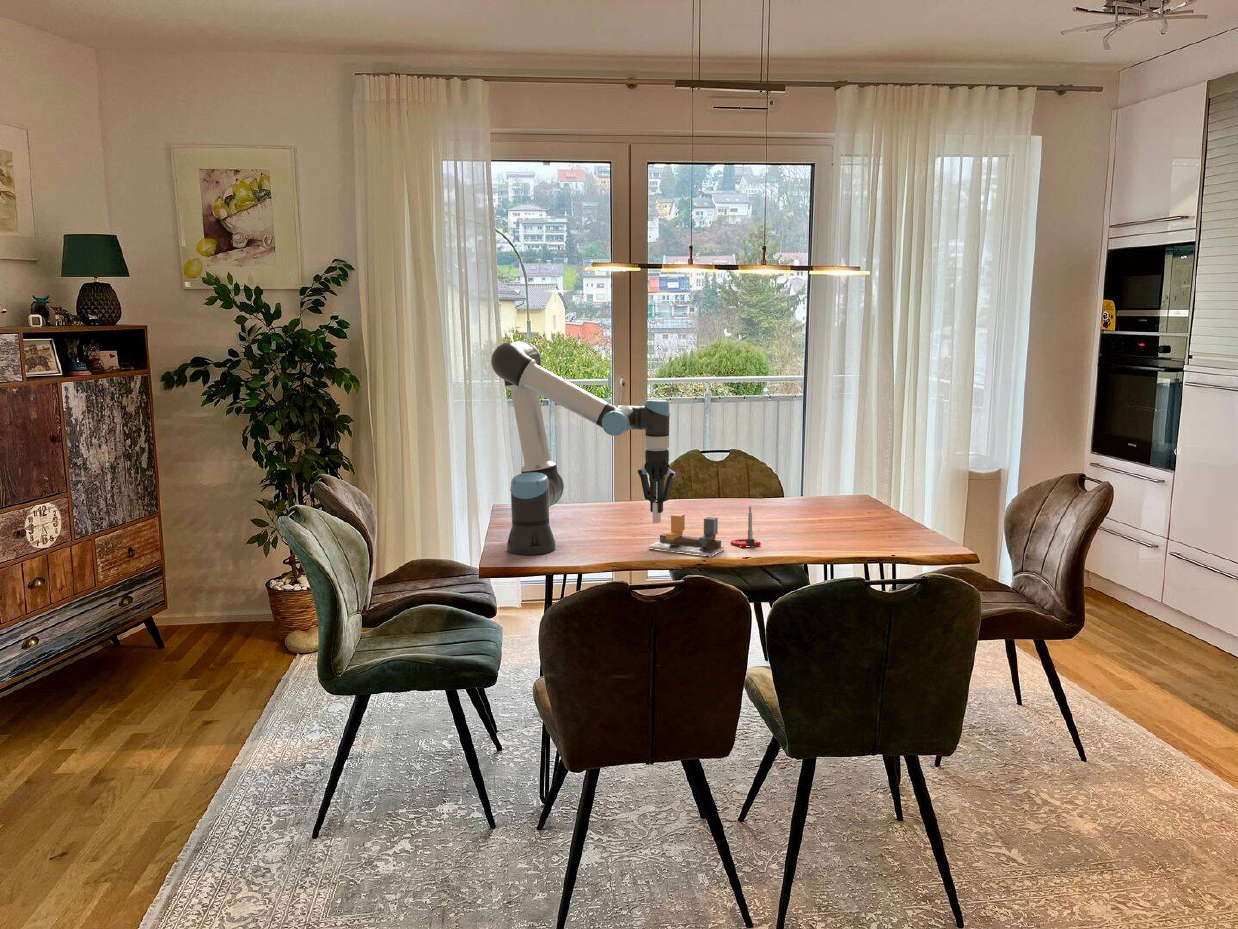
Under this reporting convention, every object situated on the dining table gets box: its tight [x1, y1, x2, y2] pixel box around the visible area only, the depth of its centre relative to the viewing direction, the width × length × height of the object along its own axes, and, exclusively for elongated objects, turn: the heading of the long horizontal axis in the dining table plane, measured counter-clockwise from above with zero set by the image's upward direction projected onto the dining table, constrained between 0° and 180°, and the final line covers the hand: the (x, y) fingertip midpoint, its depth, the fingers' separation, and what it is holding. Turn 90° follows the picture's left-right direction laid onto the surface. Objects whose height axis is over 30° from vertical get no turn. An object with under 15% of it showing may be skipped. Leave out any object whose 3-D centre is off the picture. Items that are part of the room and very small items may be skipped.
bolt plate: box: [647, 533, 725, 557], centre depth 289 cm, size 10×21×3 cm, turn 61°
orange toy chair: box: [665, 513, 686, 545], centre depth 291 cm, size 8×3×8 cm, turn 151°
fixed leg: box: [698, 516, 719, 549], centre depth 286 cm, size 8×3×8 cm, turn 151°
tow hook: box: [730, 506, 761, 548], centre depth 295 cm, size 8×13×9 cm
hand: (656, 522), depth 296 cm, fingers closed
